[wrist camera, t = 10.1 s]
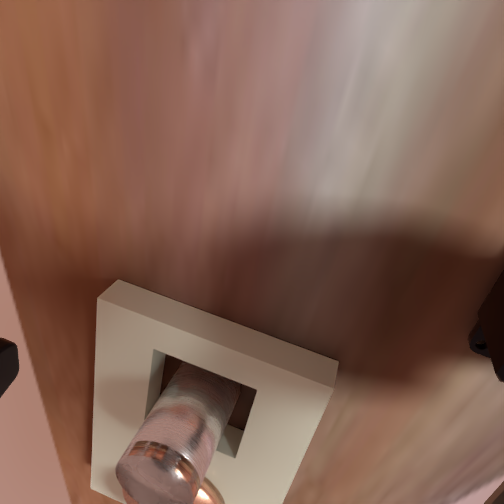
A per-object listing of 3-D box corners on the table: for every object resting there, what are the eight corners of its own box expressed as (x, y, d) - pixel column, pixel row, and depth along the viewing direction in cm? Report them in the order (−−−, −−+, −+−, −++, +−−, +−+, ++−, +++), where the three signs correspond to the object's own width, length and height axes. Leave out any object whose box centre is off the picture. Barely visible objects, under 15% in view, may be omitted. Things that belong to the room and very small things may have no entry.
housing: (338, 361, 22) (334, 388, 20) (262, 535, 31) (254, 564, 29) (118, 279, 24) (96, 297, 22) (106, 465, 33) (90, 488, 31)
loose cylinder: (247, 369, 24) (199, 478, 18) (234, 414, 26) (187, 526, 20) (183, 345, 25) (117, 442, 19) (175, 390, 27) (113, 492, 21)
